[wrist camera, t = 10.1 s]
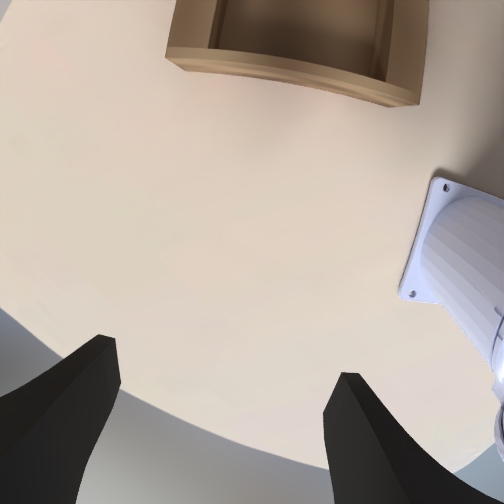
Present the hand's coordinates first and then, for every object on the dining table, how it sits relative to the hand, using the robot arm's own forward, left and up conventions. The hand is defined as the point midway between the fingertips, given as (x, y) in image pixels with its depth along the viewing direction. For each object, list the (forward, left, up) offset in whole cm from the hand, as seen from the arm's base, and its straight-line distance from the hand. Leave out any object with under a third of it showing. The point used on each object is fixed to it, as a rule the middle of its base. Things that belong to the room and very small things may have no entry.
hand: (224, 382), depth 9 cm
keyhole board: (-1, -18, -10) cm, 20 cm away
